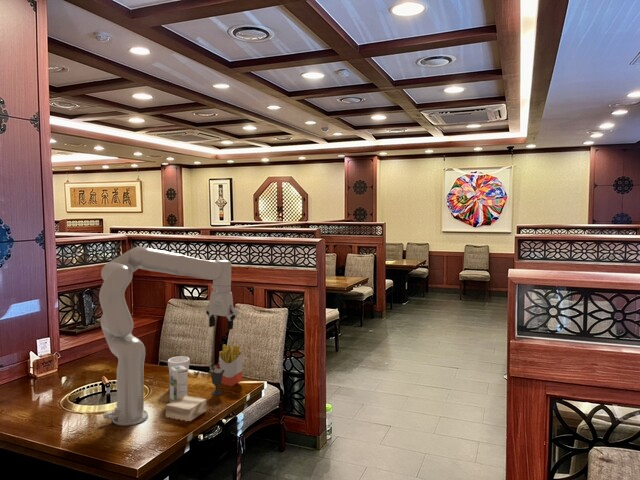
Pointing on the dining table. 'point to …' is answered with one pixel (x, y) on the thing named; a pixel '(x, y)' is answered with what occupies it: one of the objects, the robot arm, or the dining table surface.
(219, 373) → the sundae
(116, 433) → the dining table surface
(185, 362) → the foam cup
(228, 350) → the french fries container
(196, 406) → the riser block
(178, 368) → the syrup box
